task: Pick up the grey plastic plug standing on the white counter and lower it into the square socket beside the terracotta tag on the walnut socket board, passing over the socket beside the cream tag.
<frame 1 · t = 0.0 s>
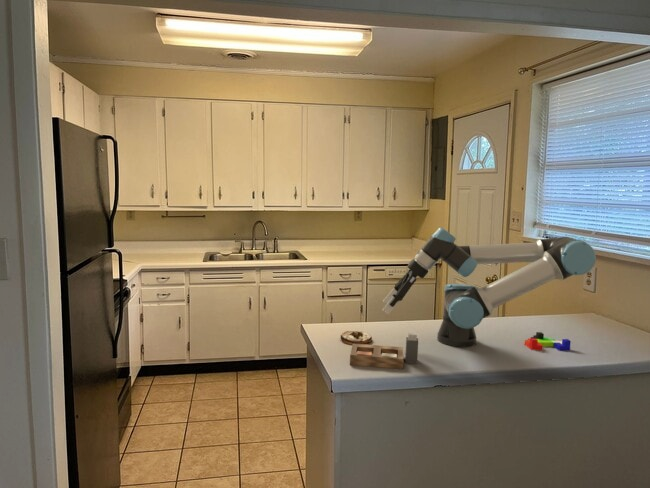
hand: (385, 307, 184), 15 cm above the table, tool tilted 35°, fingers open, 13 cm apart
plug: (411, 361, 172), on the table
building blocks: (542, 346, 194), on the table
bagel: (355, 341, 193), on the table
socket board: (376, 360, 171), on the table
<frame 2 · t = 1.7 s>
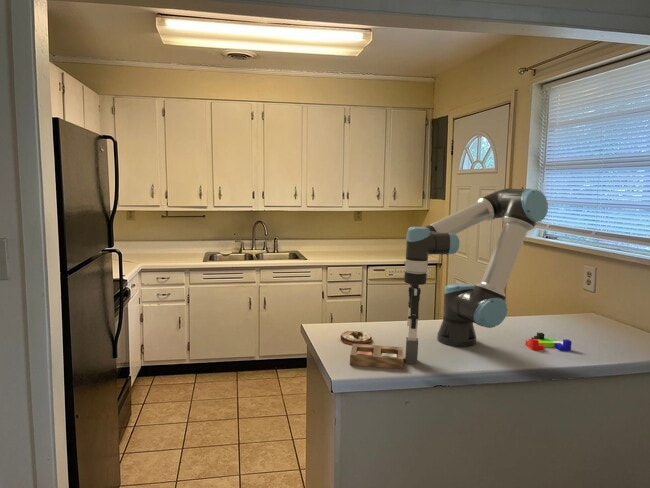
hand: (411, 331, 170), 11 cm above the table, tool pointing down, fingers open, 13 cm apart
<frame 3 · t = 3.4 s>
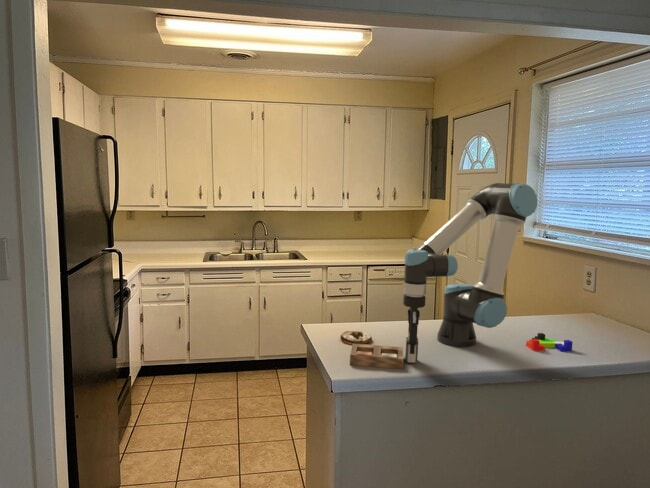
hand: (411, 359, 172), 1 cm above the table, tool pointing down, fingers closed on plug, 4 cm apart
plug: (411, 361, 172), on the table, touching gripper
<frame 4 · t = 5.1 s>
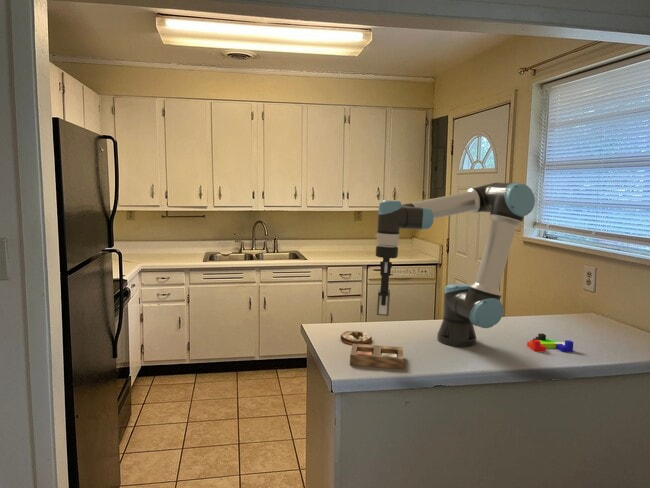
hand: (382, 312, 169), 18 cm above the table, tool pointing down, fingers closed on plug, 4 cm apart
plug: (382, 314, 169), point 17 cm above the table, touching gripper
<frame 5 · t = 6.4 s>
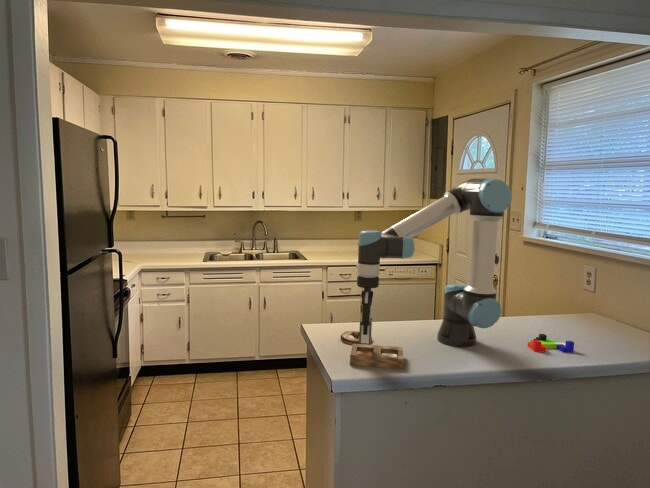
hand: (365, 340, 171), 7 cm above the table, tool pointing down, fingers closed on plug, 4 cm apart
plug: (365, 342, 171), point 6 cm above the table, touching gripper
when the fingers open (4 cm above the table, at t = 7.2 s): plug drops 2 cm, resting on socket board.
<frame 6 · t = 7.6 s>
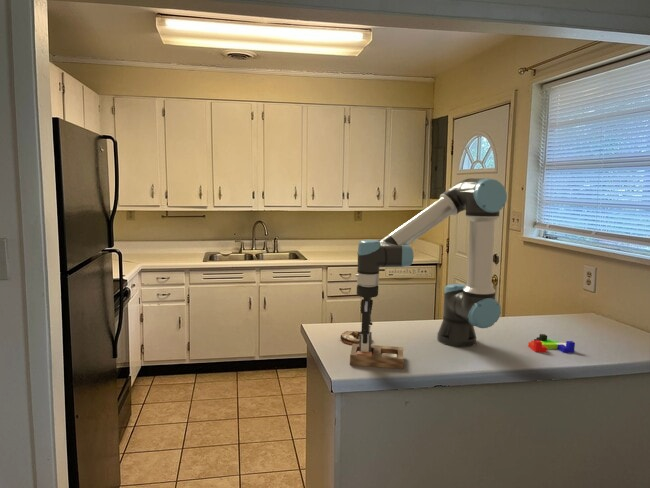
hand: (365, 346, 173), 4 cm above the table, tool pointing down, fingers open, 7 cm apart
plug: (364, 355, 172), point 1 cm above the table, touching socket board
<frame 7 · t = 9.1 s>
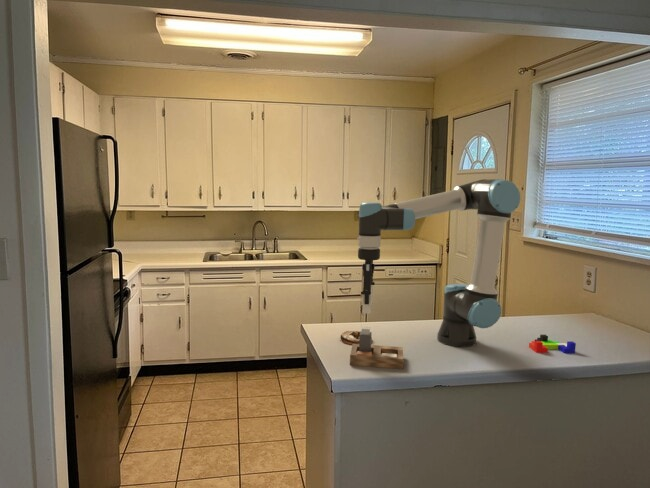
hand: (367, 308, 170), 19 cm above the table, tool pointing down, fingers open, 13 cm apart
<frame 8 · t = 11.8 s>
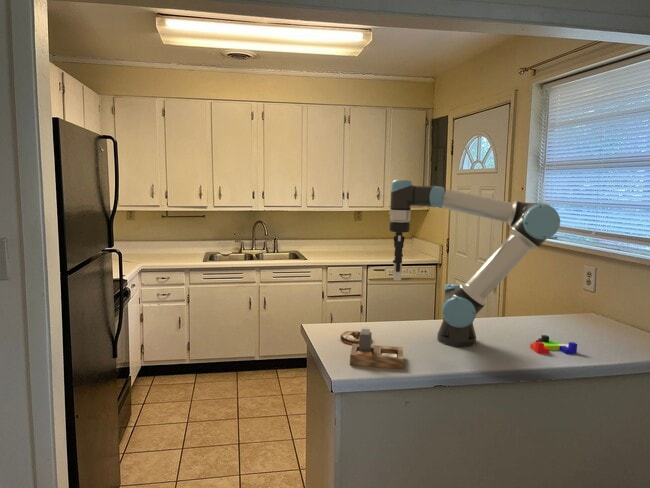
hand: (397, 276, 186), 27 cm above the table, tool pointing down, fingers open, 13 cm apart
at the end: plug 0.0 cm from the target spot on the socket board, point 1.5 cm above the socket board's base; plug tilted 0°; the gripper is holding nothing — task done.
